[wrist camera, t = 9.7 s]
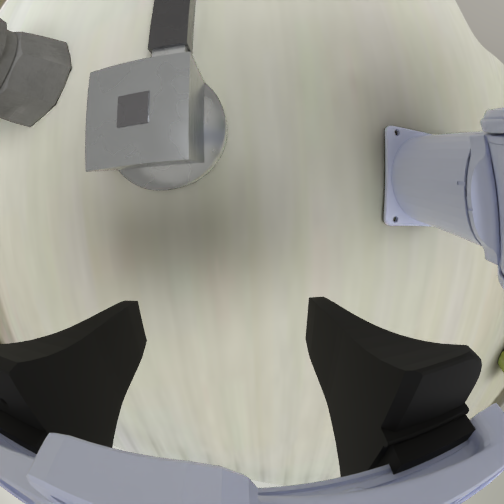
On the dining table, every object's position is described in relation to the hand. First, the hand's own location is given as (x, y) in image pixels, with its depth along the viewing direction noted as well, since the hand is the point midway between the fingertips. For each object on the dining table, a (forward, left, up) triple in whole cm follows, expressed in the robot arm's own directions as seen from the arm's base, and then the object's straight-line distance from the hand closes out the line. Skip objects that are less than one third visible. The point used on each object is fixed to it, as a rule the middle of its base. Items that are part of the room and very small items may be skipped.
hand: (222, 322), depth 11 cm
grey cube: (+4, -9, -7) cm, 13 cm away
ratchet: (+4, -16, -10) cm, 19 cm away
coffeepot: (+19, -18, -10) cm, 28 cm away
